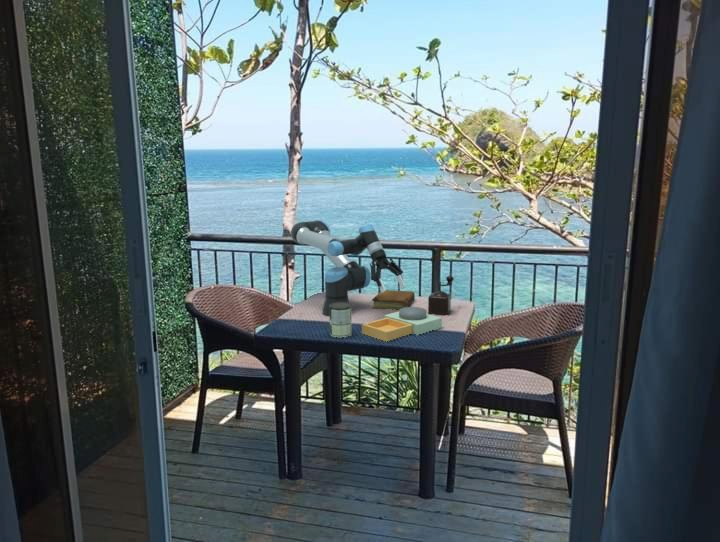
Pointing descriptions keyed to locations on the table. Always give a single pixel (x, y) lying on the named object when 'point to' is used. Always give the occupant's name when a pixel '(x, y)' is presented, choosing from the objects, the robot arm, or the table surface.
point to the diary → (393, 299)
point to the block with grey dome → (417, 319)
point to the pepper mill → (440, 300)
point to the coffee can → (340, 319)
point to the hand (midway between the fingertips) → (393, 289)
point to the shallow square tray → (386, 329)
